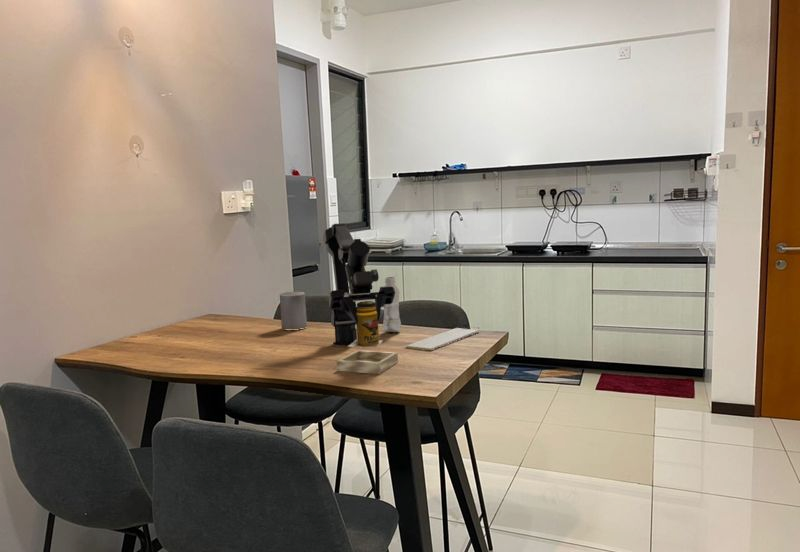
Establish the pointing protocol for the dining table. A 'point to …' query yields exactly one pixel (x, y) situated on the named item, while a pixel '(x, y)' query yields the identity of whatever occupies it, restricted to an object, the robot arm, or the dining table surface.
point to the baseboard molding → (442, 338)
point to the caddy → (367, 361)
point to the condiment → (367, 325)
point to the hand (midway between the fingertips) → (367, 321)
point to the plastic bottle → (392, 309)
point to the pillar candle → (293, 310)
